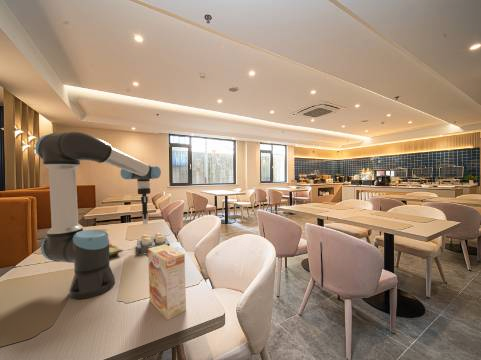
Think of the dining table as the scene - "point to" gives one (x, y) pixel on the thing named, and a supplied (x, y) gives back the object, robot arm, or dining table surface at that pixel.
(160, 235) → the button
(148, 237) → the button
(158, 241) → the button
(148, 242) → the button
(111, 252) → the puzzle game
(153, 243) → the button board
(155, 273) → the coffeecake box
